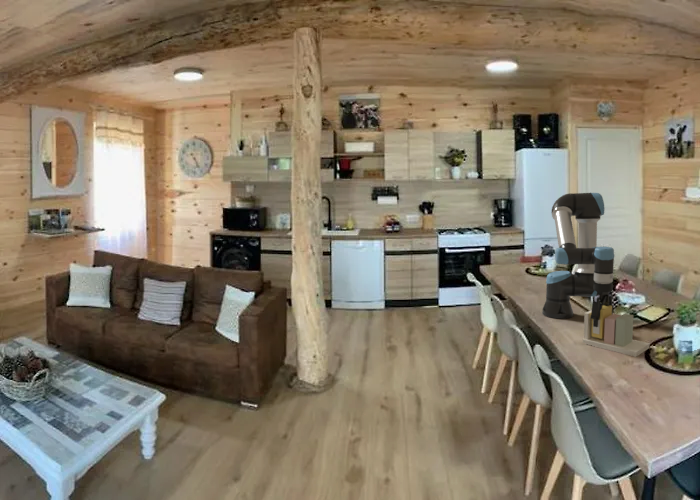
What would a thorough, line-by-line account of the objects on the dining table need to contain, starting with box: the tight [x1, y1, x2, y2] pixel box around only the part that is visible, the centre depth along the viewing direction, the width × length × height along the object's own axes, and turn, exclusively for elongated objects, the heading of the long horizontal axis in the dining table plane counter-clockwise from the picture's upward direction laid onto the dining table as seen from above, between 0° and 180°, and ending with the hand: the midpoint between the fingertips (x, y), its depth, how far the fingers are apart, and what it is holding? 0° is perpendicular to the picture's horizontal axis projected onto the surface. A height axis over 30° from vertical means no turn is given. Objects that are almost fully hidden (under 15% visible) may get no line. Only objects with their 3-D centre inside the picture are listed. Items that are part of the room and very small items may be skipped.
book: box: [591, 305, 612, 339], centre depth 212 cm, size 4×9×13 cm, turn 128°
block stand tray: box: [582, 309, 650, 358], centre depth 208 cm, size 22×14×14 cm, turn 38°
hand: (601, 330), depth 213 cm, fingers closed on book, 9 cm apart
